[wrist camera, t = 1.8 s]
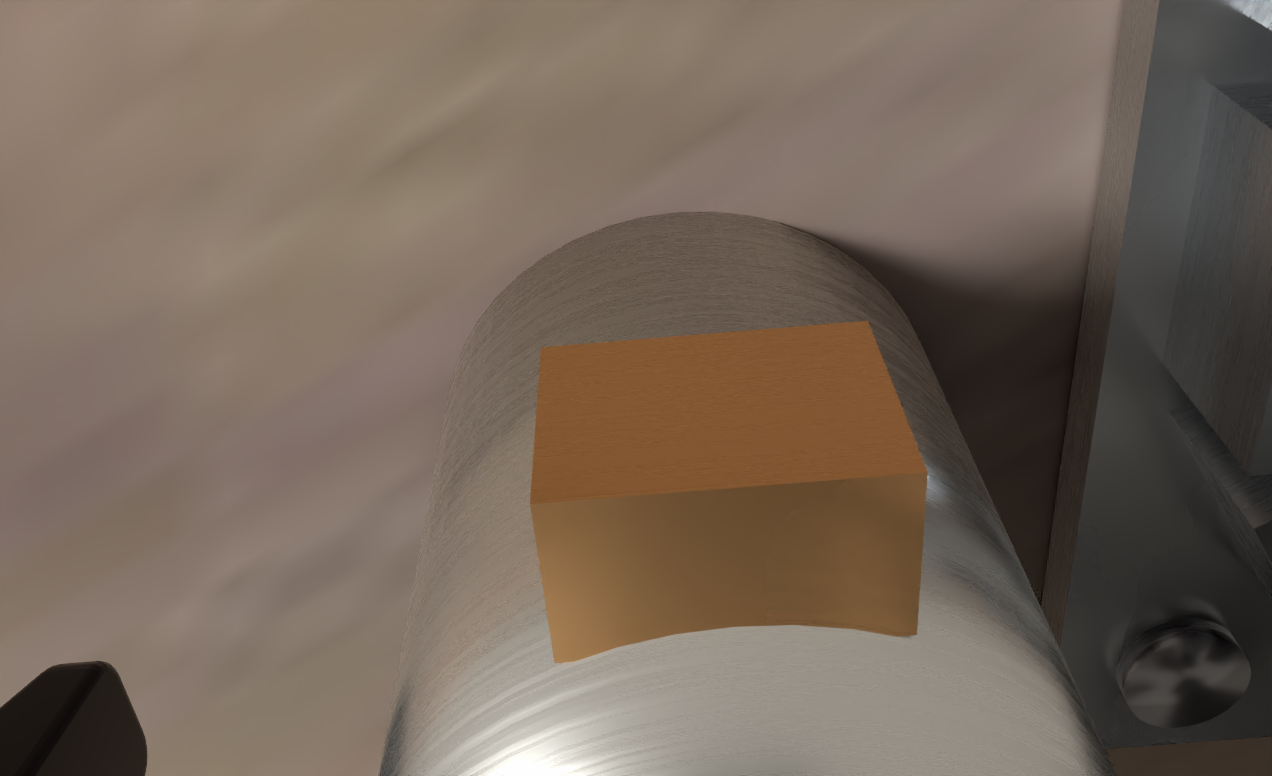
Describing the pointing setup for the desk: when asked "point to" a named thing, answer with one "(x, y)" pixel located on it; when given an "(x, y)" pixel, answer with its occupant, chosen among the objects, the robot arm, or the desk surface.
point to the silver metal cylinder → (717, 535)
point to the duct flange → (1174, 392)
